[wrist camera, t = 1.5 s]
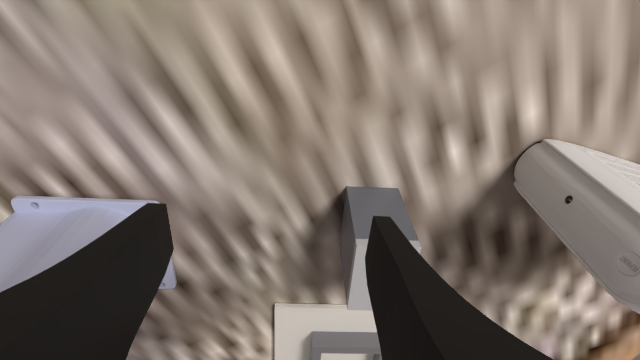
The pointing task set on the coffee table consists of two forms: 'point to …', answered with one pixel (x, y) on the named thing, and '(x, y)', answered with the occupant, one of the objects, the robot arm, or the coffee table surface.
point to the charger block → (367, 236)
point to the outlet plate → (324, 333)
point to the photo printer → (588, 210)
